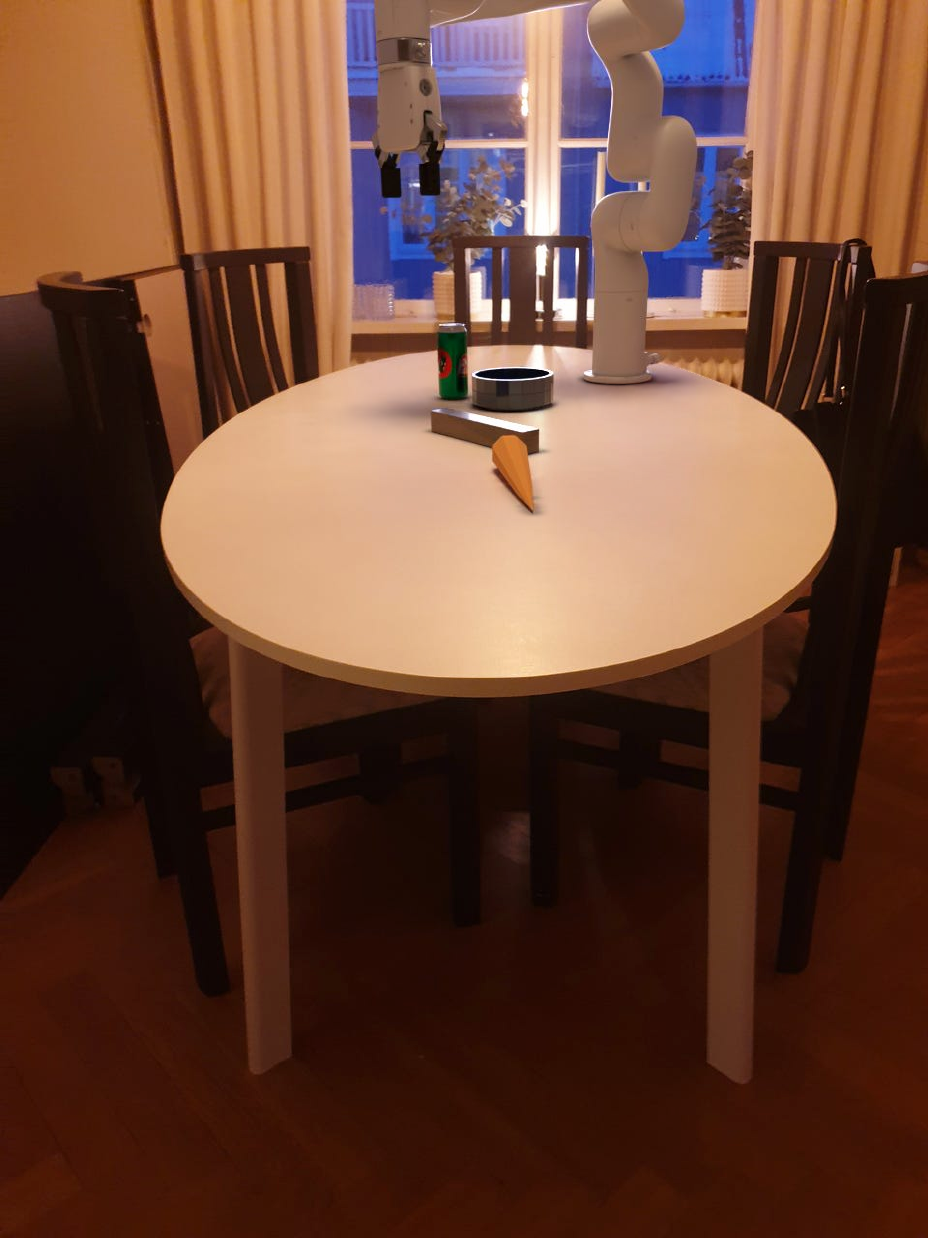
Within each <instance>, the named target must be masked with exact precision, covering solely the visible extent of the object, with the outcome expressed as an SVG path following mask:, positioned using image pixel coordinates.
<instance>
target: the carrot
mask: <svg viewBox="0 0 928 1238" xmlns="http://www.w3.org/2000/svg"><path fill="white" fill-rule="evenodd" d="M491 454H492V455H491V461H492V463H493V464H494V465H495V467H496V468H497V469H498V471H499V472H500V474H501V475H502V476H503V478H504V479H505V480H506V482H507V483H508V484H509V486H510V487H511V488H512V490H513V491H514V492H515V494H516V495H517V496H518V498H519V499H521V500H522V501H523V502H524V504H526V506H528V508H529V509H530V510H531V511H532V512H534V495H533V494H534V493H533V491H534V490H533V482H532V474H531V468H530V460H529V454H528V453H527V446H526V445H525V444H524V443H523V442H522V441H521V440H520V439H519V438H518V437H517V436H514V435H510V436H501V437H500V438H499V439H498V440H497V441H496V442H495V443H494V444H493V447H491Z"/></svg>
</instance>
